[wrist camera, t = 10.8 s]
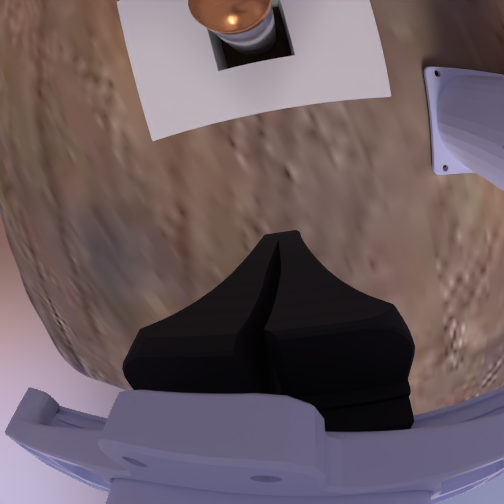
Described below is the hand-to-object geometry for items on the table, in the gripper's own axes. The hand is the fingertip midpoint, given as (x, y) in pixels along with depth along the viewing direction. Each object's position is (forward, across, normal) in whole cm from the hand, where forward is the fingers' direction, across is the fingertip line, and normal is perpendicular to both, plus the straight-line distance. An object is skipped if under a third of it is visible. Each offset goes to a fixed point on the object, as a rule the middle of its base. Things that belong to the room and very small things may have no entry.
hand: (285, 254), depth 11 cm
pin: (+10, 0, -10) cm, 14 cm away
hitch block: (+10, 0, -10) cm, 14 cm away
